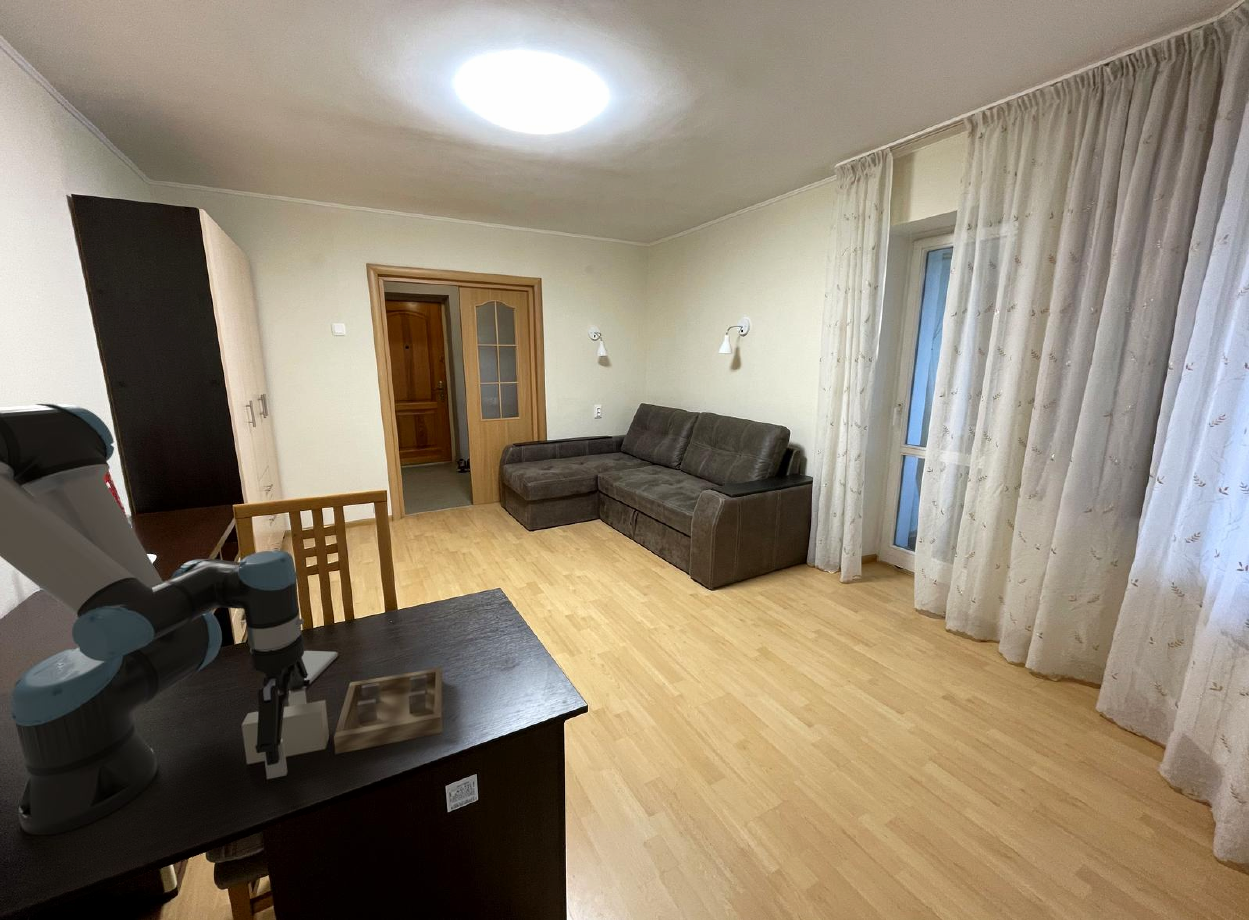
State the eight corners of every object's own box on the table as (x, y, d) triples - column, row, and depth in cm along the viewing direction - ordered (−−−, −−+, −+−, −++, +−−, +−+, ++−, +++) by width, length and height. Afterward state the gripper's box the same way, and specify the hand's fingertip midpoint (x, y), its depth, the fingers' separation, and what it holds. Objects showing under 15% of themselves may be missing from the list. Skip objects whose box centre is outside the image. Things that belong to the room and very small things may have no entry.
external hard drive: (338, 657, 118) (304, 691, 106) (304, 656, 119) (266, 690, 106) (337, 651, 118) (303, 685, 106) (303, 650, 118) (265, 683, 106)
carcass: (335, 754, 90) (333, 730, 89) (351, 697, 104) (349, 676, 103) (441, 732, 95) (440, 709, 94) (442, 681, 110) (441, 661, 109)
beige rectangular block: (247, 764, 87) (241, 724, 85) (253, 751, 90) (248, 713, 88) (325, 749, 91) (321, 710, 89) (329, 737, 94) (325, 699, 92)
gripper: (279, 680, 75) (293, 797, 80) (318, 603, 98) (328, 697, 103) (219, 689, 73) (237, 809, 77) (274, 608, 96) (286, 704, 100)
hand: (289, 746), depth 90 cm, fingers open, 13 cm apart
